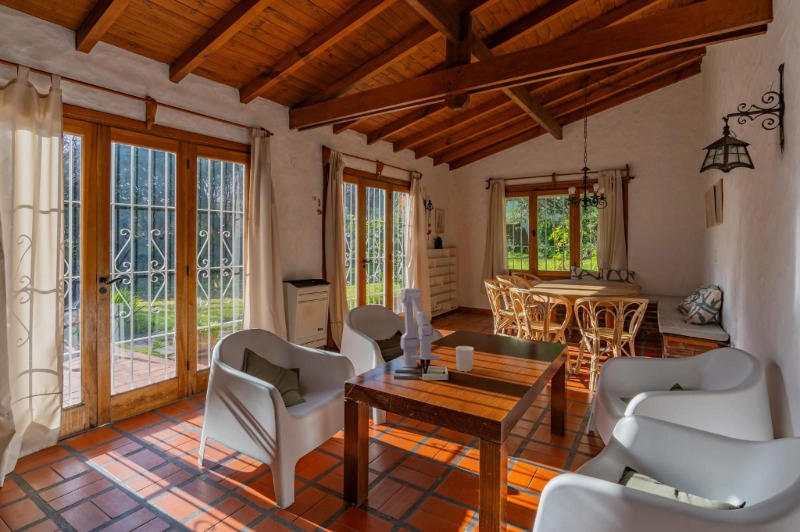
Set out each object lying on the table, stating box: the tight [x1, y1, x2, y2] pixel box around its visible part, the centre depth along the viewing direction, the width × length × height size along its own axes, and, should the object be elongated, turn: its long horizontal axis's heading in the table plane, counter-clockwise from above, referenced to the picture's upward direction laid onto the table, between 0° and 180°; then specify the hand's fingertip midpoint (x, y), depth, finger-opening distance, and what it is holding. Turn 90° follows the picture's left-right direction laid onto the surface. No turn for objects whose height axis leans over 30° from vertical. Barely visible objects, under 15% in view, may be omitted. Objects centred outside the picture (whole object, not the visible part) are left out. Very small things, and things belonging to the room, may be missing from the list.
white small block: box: [427, 369, 435, 374], centre depth 223 cm, size 4×4×3 cm
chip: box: [435, 370, 444, 374], centre depth 223 cm, size 4×4×3 cm
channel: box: [393, 369, 421, 380], centre depth 224 cm, size 12×13×1 cm
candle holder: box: [455, 345, 475, 373], centre depth 234 cm, size 10×10×12 cm
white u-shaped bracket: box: [421, 365, 449, 381], centre depth 223 cm, size 14×13×3 cm
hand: (425, 373), depth 223 cm, fingers closed
